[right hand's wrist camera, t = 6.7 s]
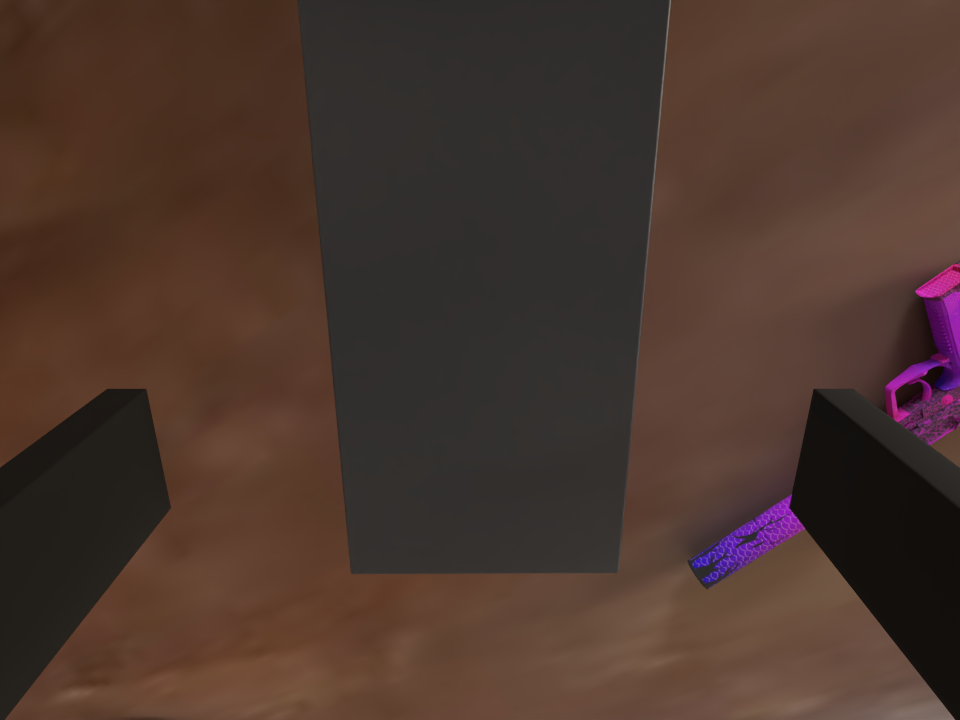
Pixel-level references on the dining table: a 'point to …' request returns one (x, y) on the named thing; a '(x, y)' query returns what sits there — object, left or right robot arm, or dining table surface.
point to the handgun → (929, 415)
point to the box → (484, 270)
